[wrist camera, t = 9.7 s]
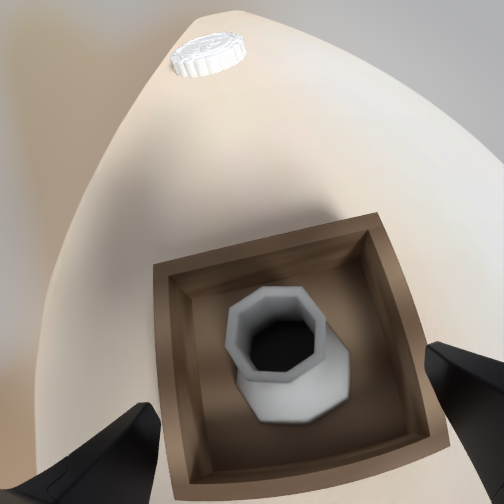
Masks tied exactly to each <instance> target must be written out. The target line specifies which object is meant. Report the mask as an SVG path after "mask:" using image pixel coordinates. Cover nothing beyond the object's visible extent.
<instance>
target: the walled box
mask: <svg viewBox="0 0 504 504" xmlns="http://www.w3.org/2000/svg"><path fill="white" fill-rule="evenodd" d="M262 286H302V287H303V288H304V290H305V291H306V292H307V293H308V295H309V296H310V297H311V298H312V300H313V301H314V302H315V304H316V305H317V306H318V307H319V309H320V310H321V311H322V313H323V314H324V315H325V316H326V321H327V323H328V324H329V325H330V326H331V328H332V329H333V330H334V332H335V333H336V334H337V336H338V337H339V338H340V339H341V341H342V342H343V343H344V345H345V346H346V347H347V349H348V350H349V351H350V394H349V399H348V400H347V401H345V402H344V403H343V404H341V405H340V406H338V407H337V408H336V409H334V410H333V411H331V412H330V413H328V414H327V415H325V416H324V417H322V418H321V419H319V420H318V421H316V422H315V423H313V424H312V425H310V426H283V425H267V424H260V423H259V421H258V420H257V418H256V417H255V415H254V414H253V412H252V411H251V409H250V407H249V406H248V404H247V403H246V401H245V400H244V398H243V397H242V395H241V393H240V392H239V390H238V389H237V387H236V378H237V368H238V367H237V366H236V364H235V362H234V361H233V359H232V357H231V356H230V354H229V353H228V351H227V349H226V348H225V340H226V331H227V323H228V315H229V308H230V307H231V306H233V305H235V304H236V303H238V302H239V301H241V300H242V299H244V298H245V297H247V296H248V295H250V294H252V293H253V292H255V291H256V290H258V289H259V288H261V287H262ZM153 293H154V328H155V348H156V363H157V376H158V388H159V398H160V408H161V416H162V425H163V432H164V440H165V447H166V453H167V460H168V466H169V472H170V478H171V483H172V488H173V494H174V499H175V500H180V501H231V500H247V499H259V498H269V497H277V496H285V495H292V494H298V493H304V492H310V491H315V490H320V489H325V488H329V487H334V486H338V485H342V484H346V483H350V482H354V481H358V480H361V479H365V478H368V477H371V476H375V475H378V474H381V473H384V472H387V471H390V470H393V469H396V468H399V467H401V466H404V465H407V464H409V463H412V462H415V461H417V460H420V459H422V458H424V457H427V456H429V455H431V454H434V453H436V452H438V451H440V450H443V449H445V448H447V447H449V446H450V441H449V435H448V429H447V424H446V418H445V413H444V411H443V409H442V408H441V406H440V403H439V401H438V399H437V397H436V394H435V392H434V390H433V388H432V385H431V383H430V381H429V379H428V377H427V375H426V372H425V369H424V360H425V348H426V346H427V341H426V338H425V335H424V332H423V328H422V325H421V322H420V319H419V316H418V313H417V310H416V307H415V304H414V301H413V298H412V296H411V293H410V290H409V287H408V285H407V282H406V279H405V277H404V274H403V271H402V269H401V266H400V264H399V261H398V259H397V256H396V254H395V251H394V249H393V247H392V244H391V242H390V240H389V237H388V235H387V233H386V230H385V228H384V226H383V224H382V221H381V219H380V217H379V215H378V213H377V212H376V213H371V214H367V215H362V216H358V217H353V218H349V219H345V220H340V221H336V222H331V223H327V224H323V225H318V226H314V227H310V228H305V229H301V230H297V231H292V232H288V233H284V234H280V235H275V236H271V237H267V238H262V239H258V240H254V241H250V242H245V243H241V244H237V245H233V246H229V247H224V248H220V249H216V250H212V251H208V252H204V253H199V254H195V255H191V256H187V257H183V258H179V259H175V260H170V261H166V262H162V263H158V264H154V265H153Z"/></svg>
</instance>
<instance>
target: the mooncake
mask: <svg viewBox="0 0 504 504" xmlns="http://www.w3.org/2000/svg"><path fill="white" fill-rule="evenodd" d="M246 55H247V52H246V47H245V43H244V39H243V37H242V36H240V35H239V34H234V33H228V32H223V33H214V34H210V35H207V36H202V37H197V38H195V39H193V40H191V41H188V42H186V43H185V44H184V45H183V46H182V47H179V48H178V49H176V50H175V52H173V53H172V56H171V58H170V60H171V62H172V65H173V67H174V70H175V72H176V74H177V75H181V76H182V77H190V78H193V77H196V76H206V75H208V74H214V73H217V72H219V71H220V70H226V69H228V68H230V66H233V65H236V64H238V63H239V61H241V60H243V59H244V56H246Z"/></svg>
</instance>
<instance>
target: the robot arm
mask: <svg viewBox="0 0 504 504" xmlns="http://www.w3.org/2000/svg"><path fill="white" fill-rule="evenodd" d="M424 369H425V372H426V375H427V377H428V379H429V381H430V383H431V385H432V388H433V390H434V392H435V394H436V397H437V399H438V401H439V403H440V406H441V408H442V409H443V411H444V413H445V415H446V416H447V418H448V420H449V422H450V423H451V425H452V427H453V429H454V430H455V432H456V434H457V436H458V438H459V439H460V441H461V443H462V445H463V447H464V449H465V450H466V452H467V454H468V456H469V458H470V460H471V462H472V464H473V465H474V467H475V469H476V471H477V473H478V475H479V477H480V479H481V481H482V483H483V485H484V487H485V489H486V492H487V494H488V496H489V498H490V500H491V503H492V504H504V362H501V361H498V360H494V359H491V358H488V357H485V356H482V355H478V354H475V353H472V352H469V351H466V350H463V349H460V348H457V347H454V346H451V345H448V344H444V343H441V342H438V341H436V342H433V343H431V344H428V345H427V346H426V348H425V360H424ZM160 430H161V421H160V419H159V417H158V415H157V413H156V412H155V410H154V408H153V406H152V405H151V404H150V403H149V402H140V403H137V404H136V405H135V406H133V407H132V408H131V409H129V410H128V411H127V412H126V413H124V414H123V415H122V416H120V417H119V418H118V419H116V420H115V421H114V422H112V423H111V424H110V425H109V426H107V427H106V428H105V429H103V430H102V431H101V432H99V433H98V434H97V435H95V436H94V437H93V438H91V439H90V440H88V441H87V442H86V443H84V444H83V445H82V446H80V447H79V448H78V449H76V450H75V451H73V452H72V453H71V454H69V456H66V457H65V458H64V459H62V460H61V461H59V462H58V463H56V464H55V465H53V466H52V467H50V468H49V469H47V470H45V471H44V472H42V473H40V474H39V475H37V476H35V477H33V478H32V479H30V480H28V481H26V482H24V483H22V484H21V485H19V486H17V487H14V488H11V489H3V490H2V489H0V504H149V500H150V495H151V490H152V485H153V480H154V475H155V471H156V466H157V460H158V450H159V440H160Z"/></svg>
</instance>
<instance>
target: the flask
mask: <svg viewBox="0 0 504 504" xmlns="http://www.w3.org/2000/svg"><path fill="white" fill-rule="evenodd" d="M225 348H226V349H227V351H228V353H229V354H230V356H231V357H232V359H233V361H234V362H235V364H236V366H237V367H238V368H237V378H236V387H237V389H238V390H239V392H240V393H241V395H242V397H243V398H244V400H245V401H246V403H247V404H248V406H249V407H250V409H251V411H252V412H253V414H254V415H255V417H256V418H257V420H258V421H259V423H260V424H267V425H283V426H310V425H312V424H313V423H315V422H316V421H318V420H319V419H321V418H322V417H324V416H325V415H327V414H328V413H330V412H331V411H333V410H334V409H336V408H337V407H338V406H340V405H341V404H343V403H344V402H345V401H347V400H348V399H349V394H350V351H349V350H348V349H347V347H346V346H345V345H344V343H343V342H342V341H341V339H340V338H339V337H338V336H337V334H336V333H335V332H334V330H333V329H332V328H331V326H330V325H329V324H328V323H327V321H326V316H325V315H324V314H323V313H322V311H321V310H320V309H319V307H318V306H317V305H316V304H315V302H314V301H313V300H312V298H311V297H310V296H309V295H308V293H307V292H306V291H305V290H304V288H303V287H302V286H262V287H261V288H259V289H258V290H256V291H255V292H253V293H252V294H250V295H248V296H247V297H245V298H244V299H242V300H241V301H239V302H238V303H236V304H235V305H233V306H231V307H230V308H229V315H228V323H227V331H226V340H225Z"/></svg>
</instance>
